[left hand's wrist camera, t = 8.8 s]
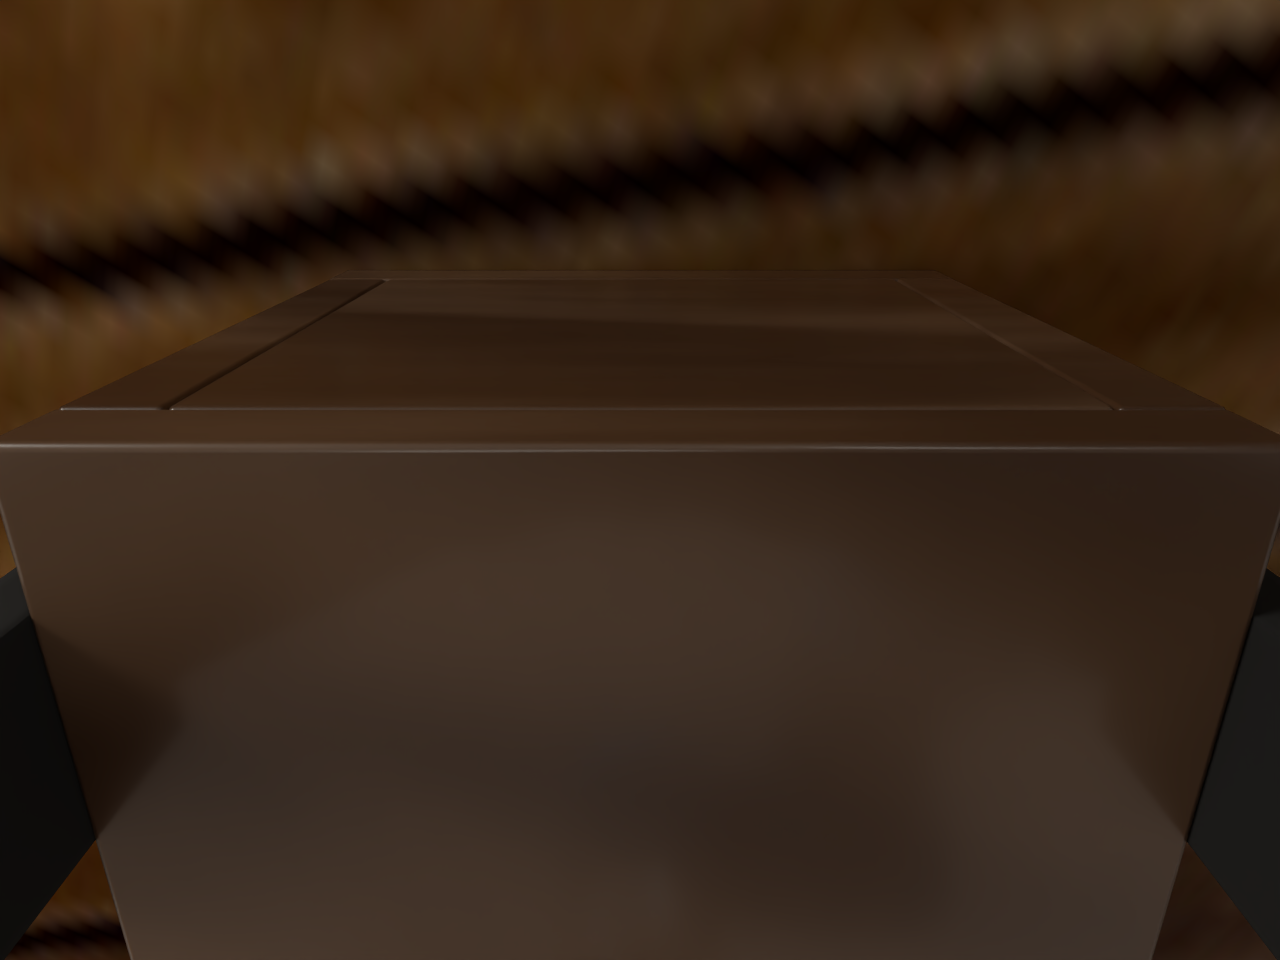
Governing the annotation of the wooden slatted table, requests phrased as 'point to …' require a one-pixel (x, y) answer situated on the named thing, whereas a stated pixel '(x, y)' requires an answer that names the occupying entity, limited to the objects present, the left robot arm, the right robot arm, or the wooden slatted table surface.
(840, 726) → the cabinet
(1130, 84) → the wooden slatted table surface
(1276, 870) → the left robot arm
